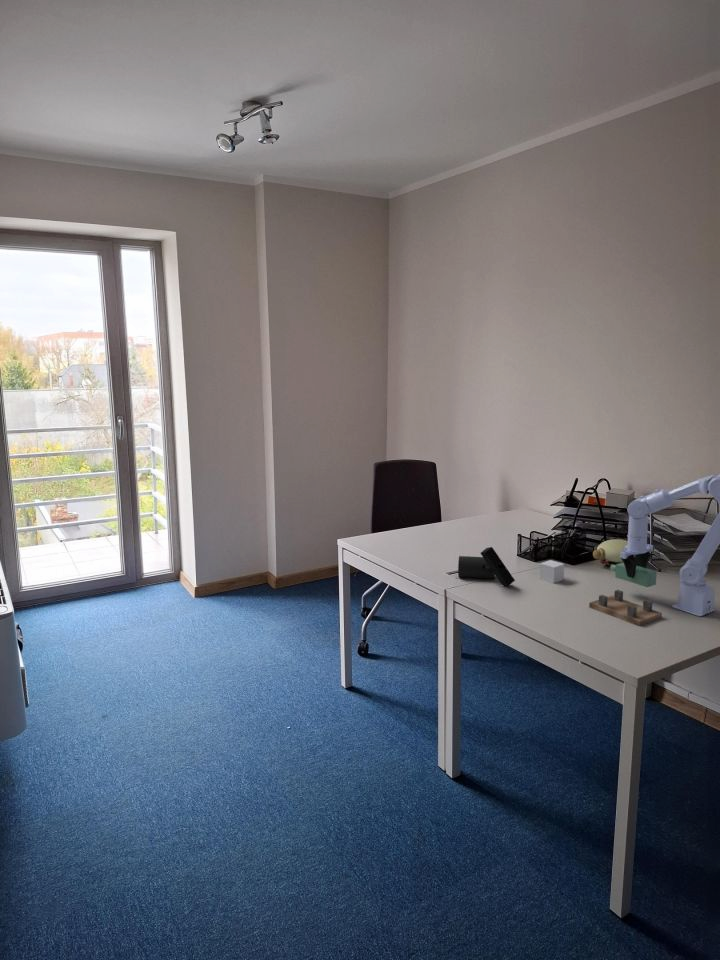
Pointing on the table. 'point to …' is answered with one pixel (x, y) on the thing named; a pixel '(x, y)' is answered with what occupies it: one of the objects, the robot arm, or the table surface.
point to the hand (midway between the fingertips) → (635, 575)
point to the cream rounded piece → (610, 551)
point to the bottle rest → (626, 609)
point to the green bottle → (636, 575)
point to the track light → (485, 567)
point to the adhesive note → (551, 571)
